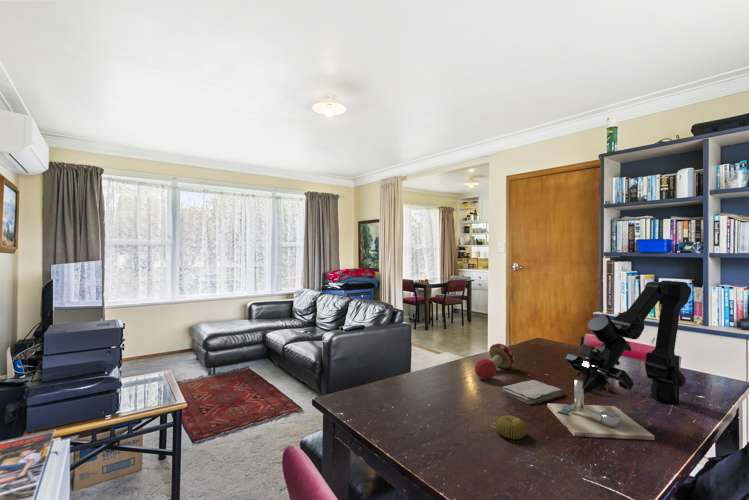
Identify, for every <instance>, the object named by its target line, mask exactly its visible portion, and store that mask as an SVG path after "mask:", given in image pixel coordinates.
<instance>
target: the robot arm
mask: <svg viewBox="0 0 749 500" xmlns="http://www.w3.org/2000/svg"><path fill="white" fill-rule="evenodd" d="M691 294H692V288H691V286H690V285H689V284H688V283H687V282H685V281H679V280H678V281H676V280H661V281H659V282H658V281H649V282H647V283H645V285H644V288H643V290H642V291H641V292H640V294H639V295H638V297H636V299H635V300H634V301H633V303H632V304H631V306H630V307H629V308H628V309H627V310H626V311H624V312H621V313H618V314H617V315H616V316H615V317H614V318H613V319H611V317H610V315H609V314H606V313H601V314H600V315H599V316H598V315H597V316H595V317H593V318H591V319H590V320H589V321H588V323H587V327H588V329H589V330H590V331H591V333H592V334H593V335H594V336H595V338H596V339H597V340H598V341H599V342H601V344H600V345H599V346H593V345H589V344H586V343H581V345H580V347H579V350H578V354H579V355H578V354H576V353H568V354H567V355H566V357H565V358H564V360H565V361H566V362H567V363H568V364H569V366H570V367H571V369H572V370H575V371H576V372H577V371H579V372H581V373H582V374H581V375H582V376H581V378H582V380H583V381H584V395H585V394H587V393H590V392H591V391H593V390H596V389H599V388H603V387H602V386H605V385H608V386H610V385H611V383H610V382H611V380H615V381H618V386H619V388H621V389H623V390H624V389H625V390H627V391H631V390H632V388H633V387H634V380H633V379H632V378H631V376H630V375H629V374H628V373H627V371H626V370H622V369H621V368H617V367H615V366H618V367H619V366H620V365H621V362H620V359H621V357H622V355H624V352H625V351H627V352H632V347H631V344H630V343H631V342H630V341H627V340H626V339H628V340H638V339H639V338H640V336H641V335H642V333H643V331H644V329H645V320H646V318H647V317H648V316H649V315H650V313H651V312H652V310H653V309H654V308H655V306H656V305H657V304H658V303H659V304H660V306H661V307H660V313H659V320H658V326H657V333H656V340H655V346H654V349H653V350H652V351H651V352H649V351H648V352H647V353H646V355H645V361H644V368H645V373H646V378H647V379H650V380H652V381H651V382H652V383H651V384H650V394H648V395H649V397H650V398H652V399H654V400H655V401H657V402H658V403H660V404H664V405H665V404H666V405H684V402H682V401H681V400H680V388H682V387H684V386H685V384H686V380H687V378H686V377H685V375H684V374H683V373H682V371H681V370H680V362H679V360H678V358H677V356H676V354H675V351H676V350H675V349H676V342H677V334H678V327H679V323H680V322H679V320H680V313H681V310H682V308H684V306H685V305H686V304H687V303H688V302H689V299H690V296H691ZM581 355H582V356H585V358H584V359H585V360H584V359H583V357H582V356H581Z"/></svg>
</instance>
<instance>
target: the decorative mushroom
mask: <svg viewBox="0 0 749 500" xmlns="http://www.w3.org/2000/svg"><path fill="white" fill-rule="evenodd" d="M488 352H489V357H490V359H489V360H491V361H493V363H494V364H495V366H496V369H497V368H498V367H499V368H503V369H510V368H512V367H513V366H514V363H515V356H514V355H515V354H514V353H513V350H512V349H510V347H509V346H508V345H507V346H506V344H503V343H494V344H492V345H491V346H490V348H489V351H488Z"/></svg>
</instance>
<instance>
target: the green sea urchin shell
mask: <svg viewBox="0 0 749 500" xmlns="http://www.w3.org/2000/svg"><path fill="white" fill-rule="evenodd" d="M494 426H495V429H496V431H497V432H498V434H499V435H501V436H502V437H504V438H506V439H510V440H521V439H523V438H524V437H525V436H526V435H527V434H528V425H526V423H525V421H524V420H523V419H521V418H519V417H518V416H515V415H508V414H505V415H501V416H499V417H497V419H496V420H495V422H494Z"/></svg>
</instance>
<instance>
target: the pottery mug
mask: <svg viewBox="0 0 749 500" xmlns="http://www.w3.org/2000/svg"><path fill="white" fill-rule="evenodd" d="M581 375H583V373H581V372H579V371H576V373H575V376H574V377H575V379H580V380H582V377H580V376H581ZM601 388H604V389H606V393H609V392H610V391H609V390H610V389H609V385H605V386H602V387H601Z"/></svg>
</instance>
